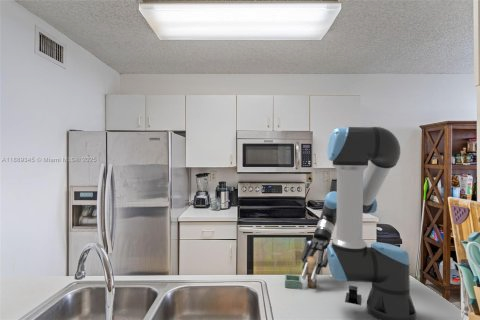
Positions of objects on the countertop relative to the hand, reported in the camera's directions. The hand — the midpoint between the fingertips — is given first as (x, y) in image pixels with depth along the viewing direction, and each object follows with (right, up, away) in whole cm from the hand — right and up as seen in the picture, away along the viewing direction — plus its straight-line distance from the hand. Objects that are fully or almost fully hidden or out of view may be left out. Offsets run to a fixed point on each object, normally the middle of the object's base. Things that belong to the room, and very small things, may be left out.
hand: (307, 278), depth 114 cm
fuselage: (+2, -4, +3) cm, 6 cm away
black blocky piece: (+16, -5, -8) cm, 18 cm away
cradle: (-5, -4, +4) cm, 8 cm away
